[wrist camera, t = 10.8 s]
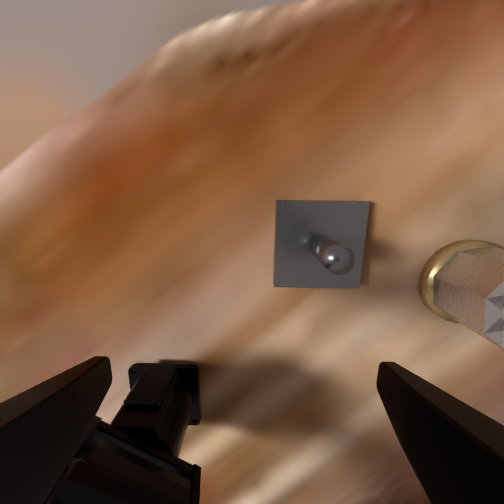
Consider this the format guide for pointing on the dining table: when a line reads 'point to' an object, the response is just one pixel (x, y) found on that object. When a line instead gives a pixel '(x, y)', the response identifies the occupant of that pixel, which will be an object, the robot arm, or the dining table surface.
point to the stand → (319, 243)
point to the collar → (474, 291)
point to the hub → (436, 264)
